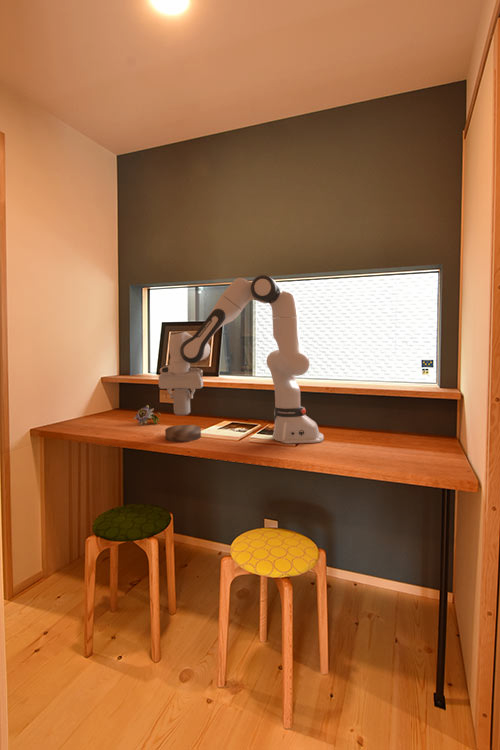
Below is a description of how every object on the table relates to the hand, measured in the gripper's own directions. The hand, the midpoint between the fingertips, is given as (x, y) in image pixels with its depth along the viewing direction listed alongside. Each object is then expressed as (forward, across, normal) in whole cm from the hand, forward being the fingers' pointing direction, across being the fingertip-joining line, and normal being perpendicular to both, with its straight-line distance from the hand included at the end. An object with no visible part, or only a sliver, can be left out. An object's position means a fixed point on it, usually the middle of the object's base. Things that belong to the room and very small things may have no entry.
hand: (181, 398), depth 184 cm
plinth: (+18, 0, 0) cm, 18 cm away
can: (+7, 0, 0) cm, 7 cm away
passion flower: (+18, +29, -26) cm, 43 cm away
